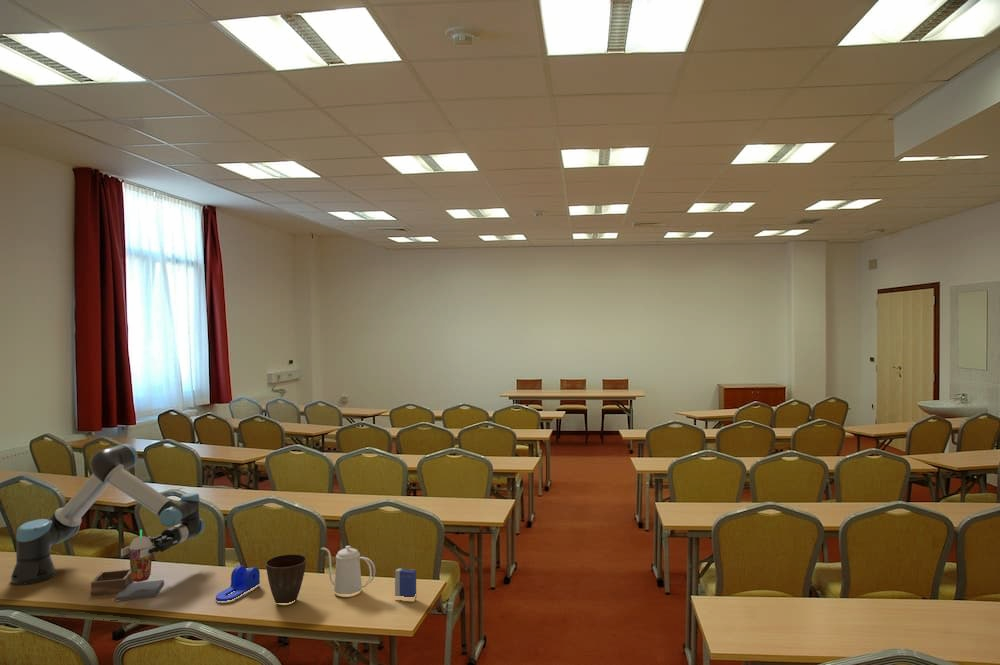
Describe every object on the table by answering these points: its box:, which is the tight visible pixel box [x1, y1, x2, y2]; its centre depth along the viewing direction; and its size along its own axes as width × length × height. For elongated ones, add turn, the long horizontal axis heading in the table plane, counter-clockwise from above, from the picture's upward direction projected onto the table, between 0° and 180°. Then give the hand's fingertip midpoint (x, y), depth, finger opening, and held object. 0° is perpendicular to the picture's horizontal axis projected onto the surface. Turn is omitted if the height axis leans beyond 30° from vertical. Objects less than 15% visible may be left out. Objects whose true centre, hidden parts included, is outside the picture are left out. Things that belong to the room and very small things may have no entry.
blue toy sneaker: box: [215, 565, 261, 601], centre depth 245 cm, size 18×8×9 cm, turn 164°
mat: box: [114, 579, 165, 602], centre depth 247 cm, size 14×14×2 cm
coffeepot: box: [320, 545, 376, 594], centre depth 247 cm, size 11×25×19 cm, turn 73°
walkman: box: [394, 567, 417, 597], centre depth 239 cm, size 8×3×12 cm, turn 74°
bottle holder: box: [90, 568, 134, 596], centre depth 252 cm, size 12×12×5 cm
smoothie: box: [128, 529, 154, 583], centre depth 248 cm, size 8×8×20 cm
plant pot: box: [265, 553, 307, 604], centre depth 238 cm, size 15×15×16 cm
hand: (131, 553), depth 243 cm, fingers closed on smoothie, 8 cm apart
